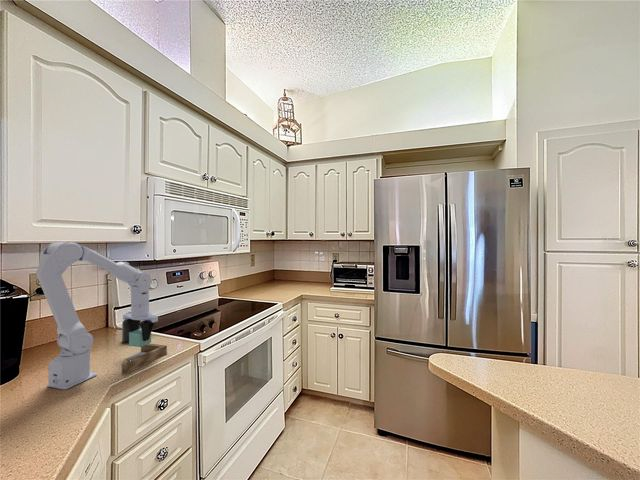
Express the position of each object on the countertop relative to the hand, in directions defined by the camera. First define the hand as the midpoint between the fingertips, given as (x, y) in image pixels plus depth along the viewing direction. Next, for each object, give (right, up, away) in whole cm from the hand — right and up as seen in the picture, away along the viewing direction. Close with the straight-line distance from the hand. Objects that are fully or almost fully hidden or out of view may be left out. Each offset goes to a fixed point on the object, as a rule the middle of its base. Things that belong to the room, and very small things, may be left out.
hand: (140, 339), depth 106 cm
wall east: (+3, -7, +4) cm, 8 cm away
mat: (0, -7, 0) cm, 7 cm away
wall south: (+5, -7, -5) cm, 10 cm away
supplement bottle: (-15, -7, +17) cm, 24 cm away
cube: (0, -2, 0) cm, 2 cm away
